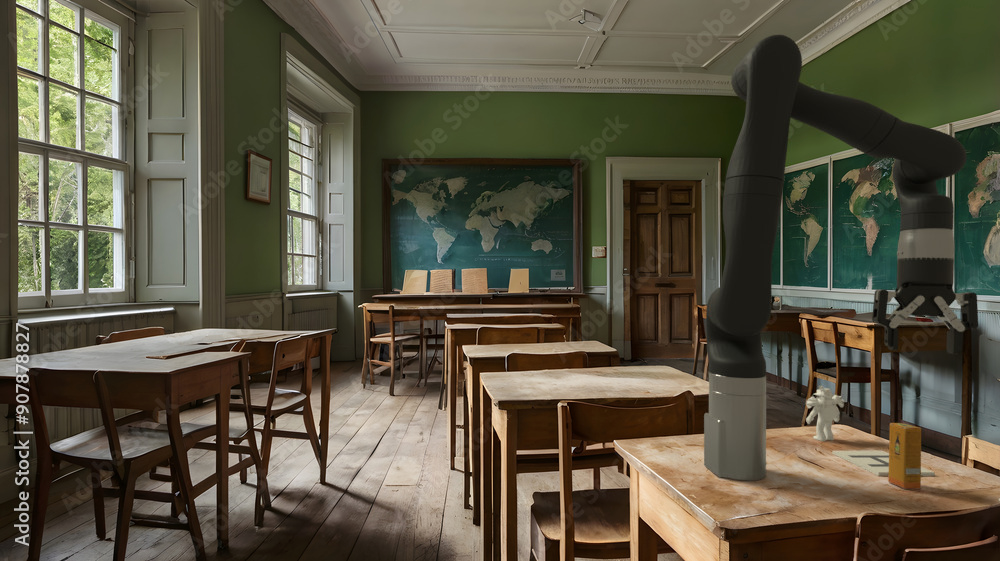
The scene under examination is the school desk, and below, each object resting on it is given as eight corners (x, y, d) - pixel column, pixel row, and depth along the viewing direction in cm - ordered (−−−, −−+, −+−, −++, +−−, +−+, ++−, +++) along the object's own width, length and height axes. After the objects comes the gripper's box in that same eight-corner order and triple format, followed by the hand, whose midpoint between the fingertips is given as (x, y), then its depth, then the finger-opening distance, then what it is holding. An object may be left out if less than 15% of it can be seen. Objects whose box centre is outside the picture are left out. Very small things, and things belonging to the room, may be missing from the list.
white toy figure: (815, 443, 109) (815, 386, 109) (800, 438, 113) (800, 382, 113) (848, 440, 112) (848, 384, 112) (832, 435, 115) (832, 381, 116)
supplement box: (923, 489, 84) (923, 427, 84) (904, 490, 84) (904, 427, 84) (905, 481, 88) (905, 422, 88) (886, 482, 87) (886, 422, 87)
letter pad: (878, 475, 90) (878, 472, 90) (832, 453, 102) (832, 450, 102) (934, 475, 90) (934, 472, 90) (882, 453, 102) (882, 450, 102)
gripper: (885, 255, 87) (882, 351, 87) (989, 256, 83) (986, 357, 83) (868, 257, 95) (865, 346, 94) (963, 259, 90) (960, 352, 90)
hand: (922, 351), depth 89 cm, fingers open, 8 cm apart
